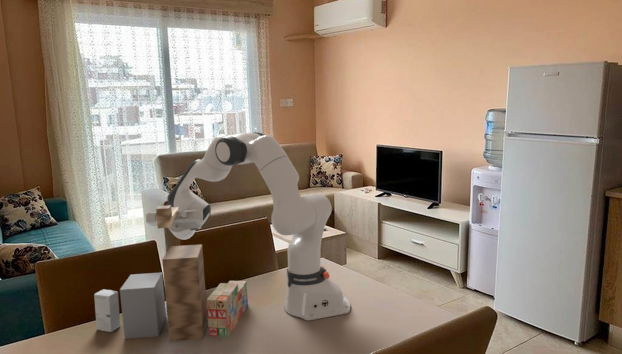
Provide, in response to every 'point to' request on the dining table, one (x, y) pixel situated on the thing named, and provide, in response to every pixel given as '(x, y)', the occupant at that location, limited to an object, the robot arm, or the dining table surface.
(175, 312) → the tall stand
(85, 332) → the dining table surface
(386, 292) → the dining table surface
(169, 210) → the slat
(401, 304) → the dining table surface
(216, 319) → the stack of blocks
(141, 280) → the pale grey upright box
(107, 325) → the skincare box
